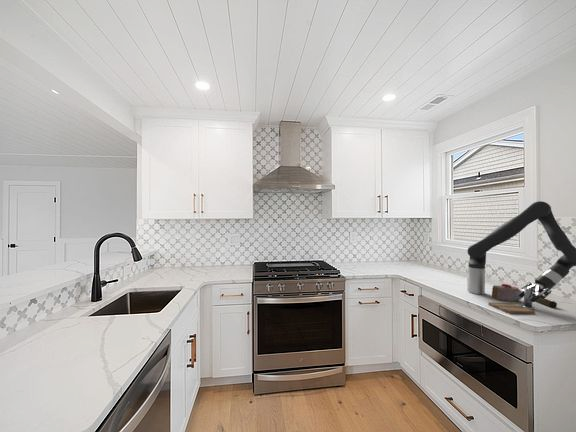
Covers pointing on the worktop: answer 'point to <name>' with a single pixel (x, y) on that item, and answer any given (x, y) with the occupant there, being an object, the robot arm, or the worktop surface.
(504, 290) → the food item
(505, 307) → the walnut board
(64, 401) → the worktop surface
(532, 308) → the round metal knob
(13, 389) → the worktop surface
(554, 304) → the hand tool
